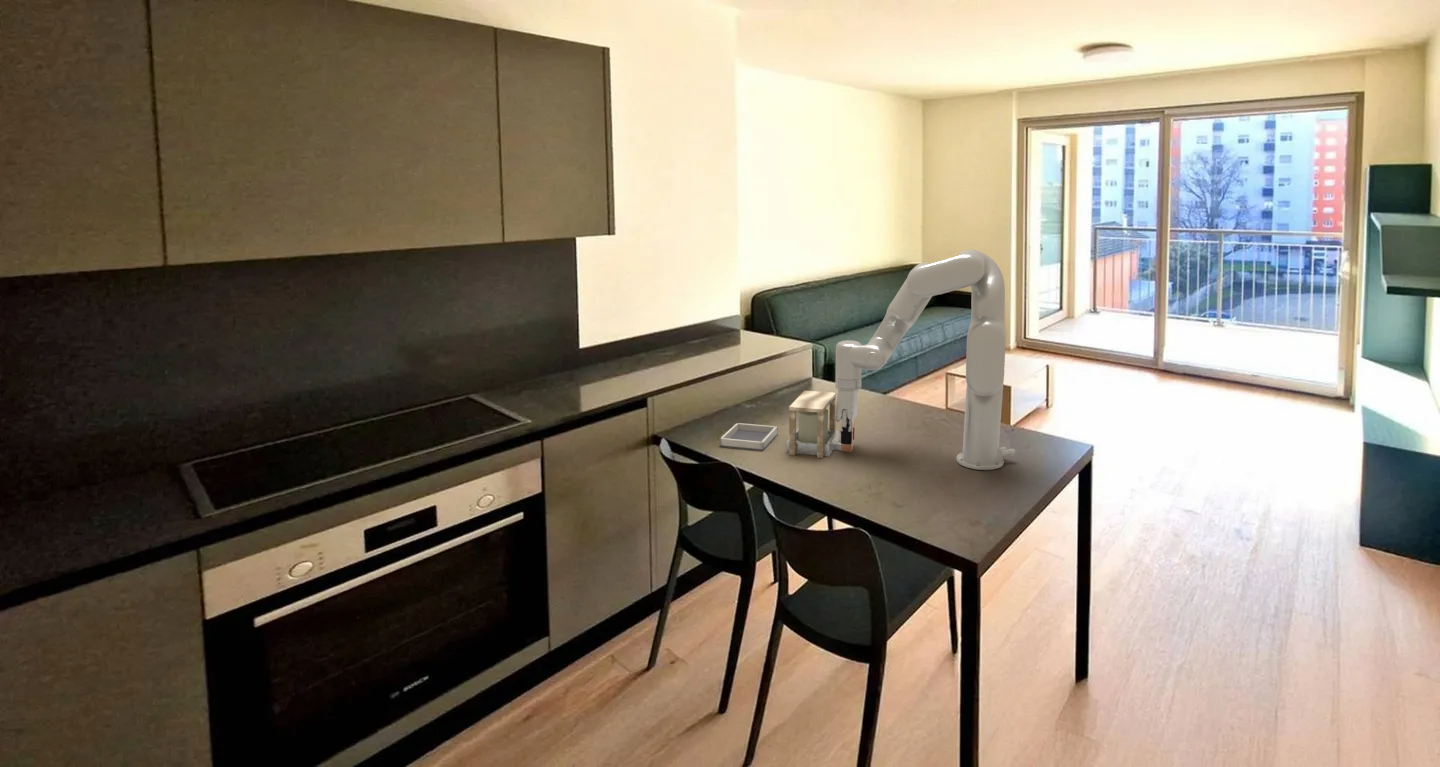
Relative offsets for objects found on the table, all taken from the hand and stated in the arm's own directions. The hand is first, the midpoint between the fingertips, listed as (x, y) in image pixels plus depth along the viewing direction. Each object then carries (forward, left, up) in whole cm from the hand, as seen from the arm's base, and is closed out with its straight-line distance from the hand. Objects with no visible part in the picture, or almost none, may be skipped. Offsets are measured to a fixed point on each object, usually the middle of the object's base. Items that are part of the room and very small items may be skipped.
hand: (847, 441), depth 223 cm
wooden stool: (+9, -5, -3) cm, 11 cm away
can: (+9, -5, -3) cm, 11 cm away
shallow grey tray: (+7, -4, -3) cm, 8 cm away
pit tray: (+28, -14, -3) cm, 31 cm away
